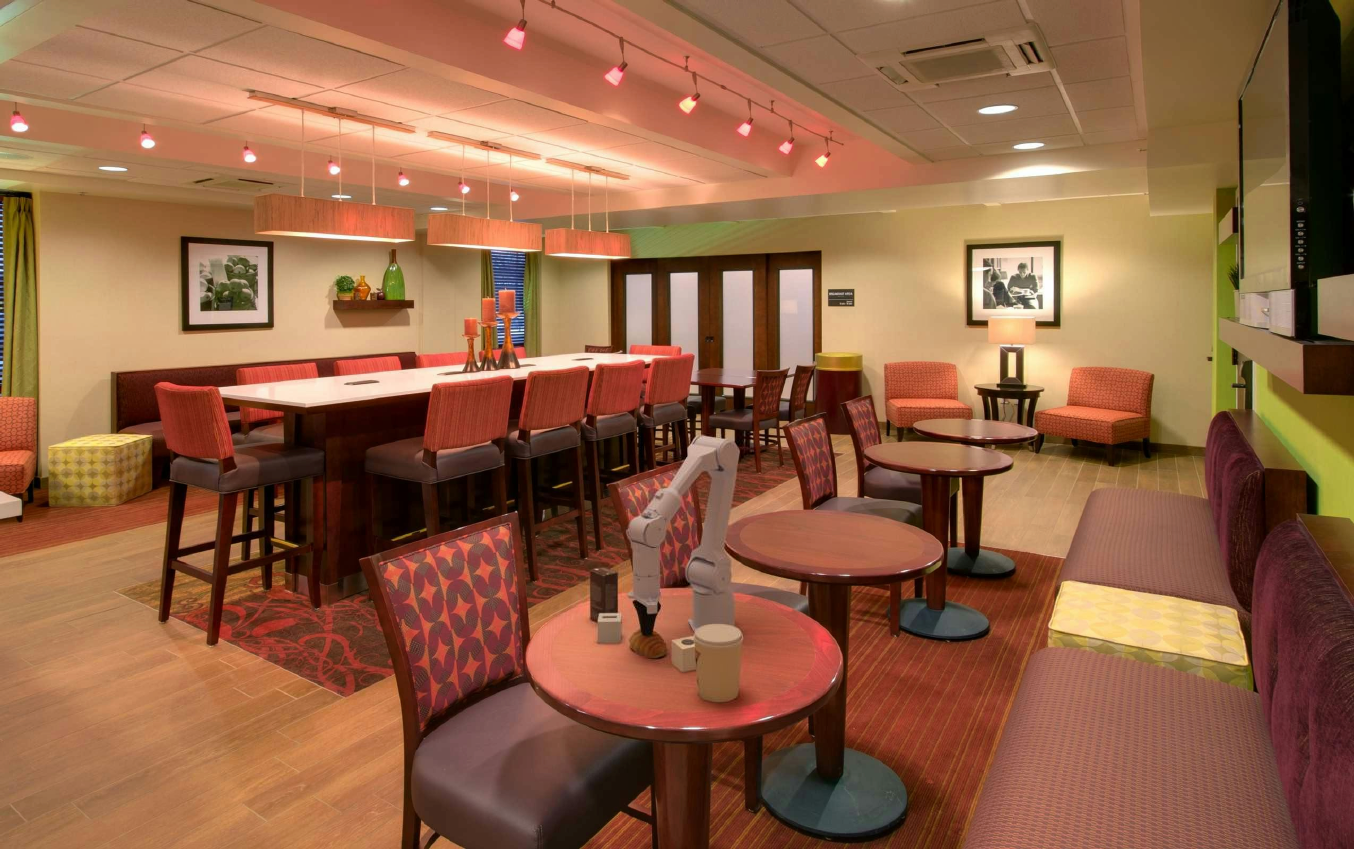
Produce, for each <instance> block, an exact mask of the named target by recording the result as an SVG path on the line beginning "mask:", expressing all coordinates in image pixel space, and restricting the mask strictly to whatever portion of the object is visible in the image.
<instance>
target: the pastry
mask: <svg viewBox="0 0 1354 849" xmlns="http://www.w3.org/2000/svg"><path fill="white" fill-rule="evenodd" d="M629 645H630V648H631V650H633V651H634V652H635V653H637V654H639V655H640V656H643V657H646V658H652V659H657V658H659V657H663V656H665V655H666V653H667V652H668V647H667V644H666V642H665V640H664V638H663V637H662V636H661V634H659V633H658V632H657V631H655V630H653V633H652V635H646V636H643V635H642V633H641V629H640V628H639V629H637V630H636V631H634V632H633V633H632V634H631V637H630V638H629Z"/></svg>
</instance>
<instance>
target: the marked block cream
mask: <svg viewBox="0 0 1354 849" xmlns="http://www.w3.org/2000/svg"><path fill="white" fill-rule="evenodd" d="M671 664H672V665H673V666H675V667H676V668H677V669H678V670H679V671H680V672H682V673H687V672H690V671H696V660H695V643H694V635H691V636H687V637H680V638H676V639H671Z"/></svg>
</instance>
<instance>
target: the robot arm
mask: <svg viewBox="0 0 1354 849" xmlns="http://www.w3.org/2000/svg"><path fill="white" fill-rule="evenodd" d="M740 453H741V450H740V449H739V447H738V446H737V444H736V442H735V441H734V440H733V439H730V438H720V437H713V436H707V435H704V434H698V435H696V436H695V437H694V438H693V440H692V441H691V443H690V445H688V446H687V457H686V458H685V459H684V461H683V463H682V464H681V466H680V467H679V469H678V471H677V473H676V474H675V476H674V477H673V479H672V480H671V482H670V484H669V485H668V487H665V488H660V489H659V490H656V492H655V493H654V497H653V498H652V499H651V501H650V502H649V504H648V505H647V507H646V508H645V509H644V510H643V511H642V513H641V514H640V515H638V516H635V517H634V518H632V520H630V522H629V523H628V526H627V528H628V529H626V530H625V533H626V537H627V539H628V540H629V542H630V548H631V550H632V591H630V592H627V598H628V599H632V604H633V607H634V609H635V611H636V614H637V617H638V623H639V629H641V633H642V635H643V636H646V635H652V633H653V631H654V628H655V624H656V619H657V616H658V614H659V613H660V611H661V608H662V604H661V602H660V600H661V597H662V593H661V570H660V569H661V564H660V563H661V558H660V557H661V556H660V555H661V550H660V549H661V548H660V547H661V544H662V542H664V541H665V539H666V536H667V530H668V529H669V528H668V527H669V523H670V521H671V520H672V519H673V518H674V516H675V515H676V514H677V512H678V511H679V509H680V508H681V506H682V496H683V495H684V494H685V493H686V491H687V490H688V489H689V488H690V486H692V484H693V483H694V482H695V481H696V479H698V477H699V476H700V475H701V474H702V472H707V473H708V475H709V476H710V478H711V483H710V488H709V493H708V494H709V495H708V499H707V505H706V511H705V518H704V522H703V528H702V535H701V540H700V545H699V546H697V548H695V549H693V550H692V551H691V552H690V553H691V554H690V558H689V561H688V563H687V564H686V567H685V570H684V572H685V573H684V574H685V579H686V581H687V582H688V583H690V585H689V586H690V589H692V618H689V619H687V622H688V624H689V625H690V627H691V629H692V631H693V634H694V633H695V631H696V630H697V629H698V628H699V627H701V626H704V625H709V624H726V625H731V626H734V627H736V625H735V624H736V623H735V618H736V615H735V614H736V611H735V610H736V609H735V608H736V607H735V606H736V602H735V594H734V591H733V588H731V587H730V584H731V582H732V577H733V576H732V575H733V574H732V559H731V557H730V556H729V555H728V554H727V552H726V551H725V545H726V544H725V543H726V540H727V539H726V538H727V533H728V526H729V523H730V522H729V521H730V515H731V510H732V504H733V499H734V493H735V487H736V480H737V474H738V472H737V470H738V464H739V457H740Z"/></svg>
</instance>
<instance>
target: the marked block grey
mask: <svg viewBox="0 0 1354 849" xmlns="http://www.w3.org/2000/svg"><path fill="white" fill-rule="evenodd" d="M622 625H623V624H622V612H618V613H599V617H598V622H597V644H621V643H622V637H623V636H622V635H623V634H622V633H623V632H622Z"/></svg>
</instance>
